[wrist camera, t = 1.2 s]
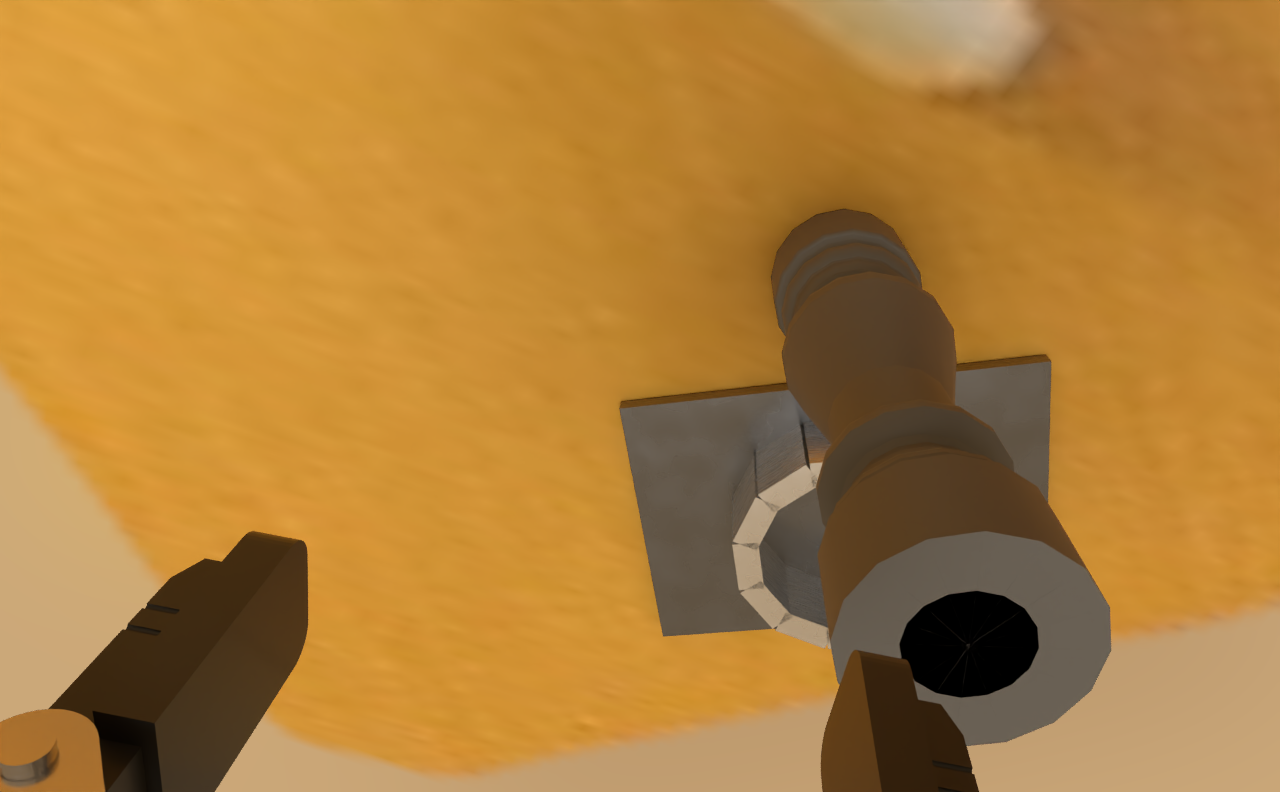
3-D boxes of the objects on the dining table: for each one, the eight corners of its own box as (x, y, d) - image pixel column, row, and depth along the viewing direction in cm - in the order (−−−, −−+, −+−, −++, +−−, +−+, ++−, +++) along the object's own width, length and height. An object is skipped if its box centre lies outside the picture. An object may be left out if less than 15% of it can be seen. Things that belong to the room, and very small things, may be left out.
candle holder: (871, 358, 43) (1024, 789, 21) (749, 311, 43) (770, 700, 20) (935, 239, 40) (1191, 584, 18) (806, 187, 40) (902, 476, 17)
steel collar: (1045, 354, 42) (1081, 399, 38) (1040, 599, 48) (1071, 662, 44) (621, 401, 45) (609, 447, 41) (664, 626, 51) (657, 688, 47)
